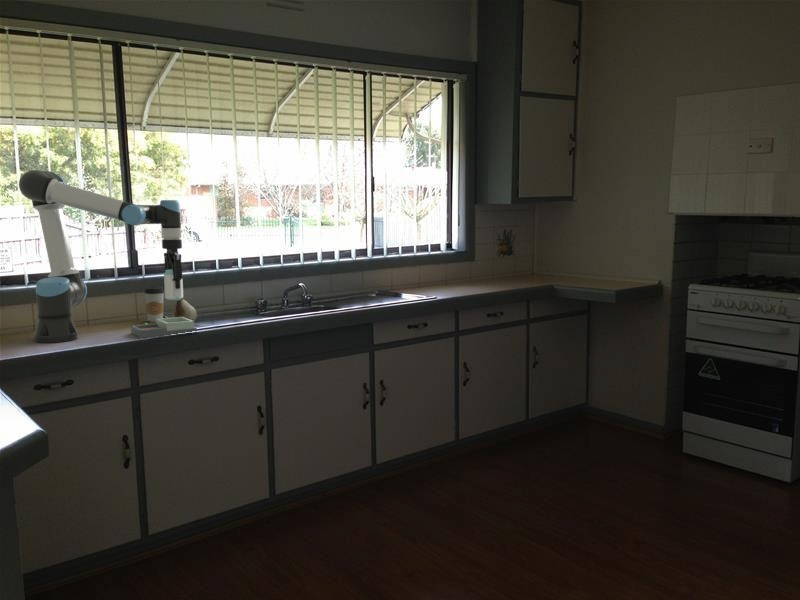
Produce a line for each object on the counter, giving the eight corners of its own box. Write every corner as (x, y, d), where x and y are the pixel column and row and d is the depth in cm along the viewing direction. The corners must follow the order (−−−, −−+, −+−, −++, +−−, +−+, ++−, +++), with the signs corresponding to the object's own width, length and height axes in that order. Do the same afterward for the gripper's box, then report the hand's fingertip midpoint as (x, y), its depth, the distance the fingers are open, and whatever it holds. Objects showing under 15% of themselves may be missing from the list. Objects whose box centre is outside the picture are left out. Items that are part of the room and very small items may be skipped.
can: (162, 299, 286) (161, 269, 285) (179, 297, 290) (178, 268, 289) (168, 300, 281) (167, 270, 279) (185, 299, 285) (184, 269, 283)
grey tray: (141, 338, 273) (141, 326, 272) (131, 333, 284) (130, 321, 283) (197, 333, 286) (196, 320, 285) (184, 328, 297) (184, 316, 296)
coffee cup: (144, 322, 311) (142, 288, 309) (147, 319, 319) (145, 286, 317) (164, 322, 312) (162, 288, 310) (166, 319, 320) (165, 286, 318)
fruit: (179, 323, 310) (178, 296, 308) (200, 323, 309) (199, 296, 308) (170, 327, 300) (169, 299, 298) (192, 327, 299) (191, 299, 298)
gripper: (189, 239, 277) (191, 297, 280) (172, 237, 293) (175, 292, 296) (170, 239, 272) (173, 298, 275) (154, 238, 288) (157, 293, 291)
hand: (174, 295), depth 285 cm, fingers closed on can, 7 cm apart
